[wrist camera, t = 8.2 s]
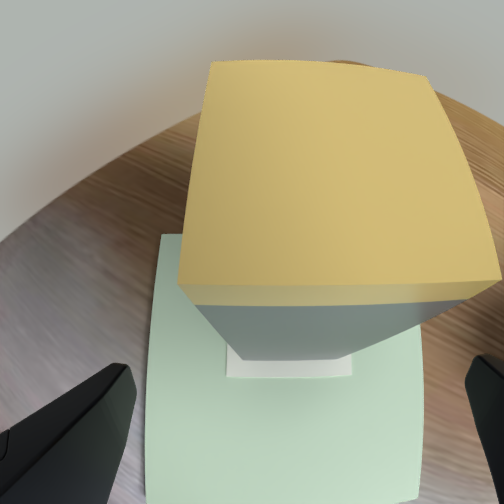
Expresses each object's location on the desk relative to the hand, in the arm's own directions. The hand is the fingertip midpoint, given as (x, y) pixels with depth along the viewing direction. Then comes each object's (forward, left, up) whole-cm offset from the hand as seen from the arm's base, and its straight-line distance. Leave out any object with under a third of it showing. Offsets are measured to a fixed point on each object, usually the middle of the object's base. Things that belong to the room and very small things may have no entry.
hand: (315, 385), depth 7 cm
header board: (0, 0, -9) cm, 9 cm away
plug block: (+2, +2, -8) cm, 9 cm away
